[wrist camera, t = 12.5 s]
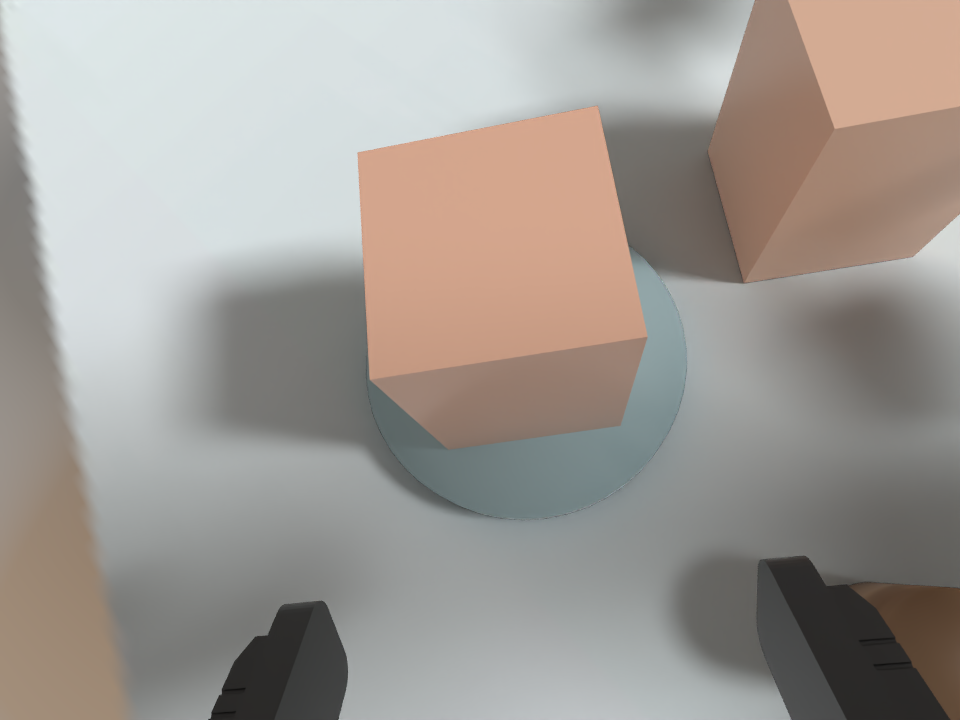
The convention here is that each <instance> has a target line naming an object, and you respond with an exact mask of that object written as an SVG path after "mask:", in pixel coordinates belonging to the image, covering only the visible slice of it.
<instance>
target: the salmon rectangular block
mask: <svg viewBox="0 0 960 720" xmlns="http://www.w3.org/2000/svg"><path fill="white" fill-rule="evenodd" d="M358 170H359V189H360V207H361V226H362V245H363V264H364V283H365V302H366V320H367V339H368V358H369V377H370V381H372V382H373V383H374V384H375V385H376V386H377V387H378V388H379V389H381V390H382V391H383V392H384V393H385V394H386V395H387V396H388V397H390V398H391V399H392V400H393V401H394V402H395V403H396V404H397V405H399V406H400V407H401V408H402V409H403V410H404V411H405V412H406V413H408V414H409V415H410V416H411V417H412V418H413V419H414V420H415V421H417V422H418V423H419V424H420V425H421V426H422V427H423V428H424V429H426V430H427V431H428V432H429V433H430V434H431V435H432V436H433V437H435V438H436V439H437V440H438V441H439V442H440V443H441V444H442V445H444V446H445V447H446V448H447V449H448V450H451V449H458V448H465V447H473V446H480V445H487V444H494V443H501V442H508V441H515V440H523V439H530V438H537V437H544V436H551V435H558V434H566V433H573V432H580V431H587V430H594V429H601V428H608V427H616V426H621V423H622V419H623V416H624V413H625V410H626V406H627V403H628V400H629V396H630V393H631V390H632V387H633V383H634V380H635V377H636V374H637V370H638V367H639V364H640V361H641V357H642V354H643V351H644V348H645V344H646V341H647V338H648V336H647V331H646V326H645V322H644V317H643V312H642V308H641V303H640V298H639V294H638V289H637V285H636V280H635V275H634V271H633V266H632V261H631V257H630V252H629V248H628V243H627V238H626V234H625V229H624V224H623V220H622V215H621V210H620V206H619V201H618V197H617V192H616V187H615V183H614V178H613V173H612V169H611V164H610V160H609V155H608V150H607V146H606V141H605V136H604V132H603V127H602V122H601V118H600V113H599V109H598V106H594V107H589V108H583V109H578V110H573V111H568V112H563V113H558V114H553V115H548V116H542V117H537V118H532V119H527V120H522V121H517V122H512V123H507V124H502V125H496V126H491V127H486V128H481V129H476V130H471V131H466V132H461V133H455V134H450V135H445V136H440V137H435V138H430V139H425V140H420V141H414V142H409V143H404V144H399V145H394V146H389V147H384V148H379V149H374V150H368V151H363V152H358Z"/></svg>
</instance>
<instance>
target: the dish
mask: <svg viewBox="0 0 960 720" xmlns="http://www.w3.org/2000/svg"><path fill="white" fill-rule="evenodd" d="M628 248H629V252H630V257H631V261H632V266H633V271H634V275H635V280H636V285H637V289H638V294H639V298H640V303H641V308H642V312H643V317H644V322H645V326H646V331H647V336H648V338H647V341H646V344H645V348H644V351H643V354H642V357H641V361H640V364H639V367H638V370H637V374H636V377H635V380H634V383H633V387H632V390H631V393H630V396H629V400H628V403H627V406H626V410H625V413H624V416H623V419H622V423H621V426H616V427H608V428H601V429H594V430H587V431H580V432H573V433H566V434H558V435H551V436H544V437H537V438H530V439H523V440H515V441H508V442H501V443H494V444H487V445H480V446H473V447H465V448H458V449H451V450H448V449H447V448H446V447H445V446H444V445H442V444H441V443H440V442H439V441H438V440H437V439H436V438H435V437H433V436H432V435H431V434H430V433H429V432H428V431H427V430H426V429H424V428H423V427H422V426H421V425H420V424H419V423H418V422H417V421H415V420H414V419H413V418H412V417H411V416H410V415H409V414H408V413H406V412H405V411H404V410H403V409H402V408H401V407H400V406H399V405H397V404H396V403H395V402H394V401H393V400H392V399H391V398H390V397H388V396H387V395H386V394H385V393H384V392H383V391H382V390H381V389H379V388H378V387H377V386H376V385H375V384H374V383H373V382H372V381H370V377H369V358H368V351H367V359H366V379H367V388H368V396H369V400H370V404H371V408H372V412H373V415H374V418H375V420H376V423H377V425H378V428H379V430H380V432H381V434H382V436H383V438H384V439H385V441H386V443H387V445H388V446H389V448H390V450H391V451H392V452H393V454H394V455H395V456H396V458H397V459H398V460H399V461H400V463H401V464H402V465H403V466H404V467H405V468H406V469H407V470H408V471H409V472H410V473H411V474H412V475H413V476H414V477H415V478H416V479H417V480H418V481H419V482H421V483H422V484H423V485H425V486H426V487H428V488H429V489H430V490H432V491H433V492H434V493H436V494H438V495H440V496H441V497H443V498H445V499H447V500H449V501H451V502H453V503H455V504H457V505H459V506H461V507H463V508H466V509H469V510H471V511H474V512H477V513H479V514H483V515H488V516H492V517H497V518H502V519H514V520H536V519H547V518H552V517H558V516H563V515H567V514H570V513H573V512H576V511H579V510H582V509H585V508H587V507H589V506H592V505H594V504H596V503H598V502H600V501H602V500H604V499H606V498H607V497H609V496H610V495H612V494H613V493H615V492H616V491H618V490H619V489H621V488H622V487H623V486H625V485H626V484H627V483H628V482H629V481H630V480H631V479H632V478H634V477H635V476H636V475H637V474H638V473H639V472H640V471H641V470H642V469H643V468H644V466H645V465H646V464H647V463H648V462H649V460H650V459H651V458H652V457H653V456H654V454H655V453H656V451H657V450H658V448H659V447H660V445H661V443H662V442H663V440H664V439H665V437H666V435H667V434H668V432H669V431H670V428H671V426H672V424H673V422H674V419H675V417H676V415H677V413H678V410H679V406H680V403H681V399H682V396H683V392H684V386H685V379H686V371H687V357H686V343H685V337H684V330H683V326H682V323H681V320H680V317H679V313H678V310H677V308H676V306H675V303H674V301H673V299H672V297H671V295H670V293H669V291H668V289H667V288H666V286H665V285H664V283H663V282H662V280H661V278H660V277H659V275H658V274H657V273H656V272H655V270H654V269H653V268H652V267H651V266H650V265H649V264H648V262H647V261H646V260H645V259H644V258H643V257H642V256H641V255H639V254H638V253H637V252H636V251H635V250H634V249H633V248H632V247H630V246H629V245H628Z"/></svg>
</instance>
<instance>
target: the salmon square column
mask: <svg viewBox="0 0 960 720" xmlns="http://www.w3.org/2000/svg"><path fill="white" fill-rule="evenodd" d="M708 155H709V158H710V162H711V165H712V169H713V173H714V176H715V180H716V184H717V187H718V191H719V195H720V198H721V202H722V205H723V209H724V213H725V216H726V220H727V224H728V227H729V231H730V235H731V238H732V242H733V246H734V249H735V253H736V256H737V260H738V264H739V267H740V271H741V275H742V278H743V282H744V283H749V282H755V281H761V280H768V279H774V278H781V277H787V276H793V275H800V274H806V273H813V272H819V271H825V270H832V269H838V268H844V267H851V266H857V265H864V264H870V263H876V262H883V261H889V260H896V259H902V258H908V257H913V256H914V255H915V254H917V253H918V252H919V251H920V250H921V249H922V248H923V247H924V246H925V245H926V244H927V243H929V242H930V241H931V240H932V239H933V238H934V237H935V236H936V235H937V234H938V233H939V232H940V231H942V230H943V229H944V228H945V227H946V226H947V225H948V224H949V223H950V222H951V221H952V220H954V219H955V218H956V217H957V216H958V215H959V214H960V0H755V2H754V5H753V8H752V11H751V14H750V18H749V21H748V24H747V27H746V30H745V34H744V37H743V40H742V43H741V46H740V50H739V53H738V56H737V59H736V62H735V65H734V69H733V72H732V75H731V78H730V81H729V85H728V88H727V91H726V94H725V97H724V101H723V104H722V107H721V110H720V113H719V116H718V120H717V123H716V126H715V129H714V132H713V136H712V139H711V142H710V145H709V148H708Z"/></svg>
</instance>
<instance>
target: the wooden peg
mask: <svg viewBox="0 0 960 720" xmlns="http://www.w3.org/2000/svg"><path fill="white" fill-rule="evenodd" d="M849 587H850V588H852V589H853V590H854V591H855V592H857V593H858V594H859V595H860V596H862V597H863V598H864V599H865V600H867V601H868V602H869V603H870V604H871V605H873V606H874V607H875V608H876V609H877V610H878V612H879V613H880V615H881V616H882V618H883V619H884V621H885V622H886V624H887V625H888V627H889V628H890V630H891V631H892V633H893V634H894V636H895V639H896V642H897V643H900V645H901V646H902V648H903V649H904V651H905V652H906V654H907V655H908V657H909V658H910V660H911V661H912V666H913V667H914V668H916V669H917V670H918V672H919V673H920V675H921V676H922V678H923V679H924V681H925V682H926V684H927V685H928V687H929V688H930V690H931V691H932V693H933V694H934V696H935V697H936V699H937V700H938V702H939V703H940V705H941V706H942V708H943V709H944V711H945V712H946V714H947V715H948V717H949V718H950V720H960V589H959V588H950V587H936V586H920V585H904V584H888V583H872V582H865V583H857V584H852V585H849Z"/></svg>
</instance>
